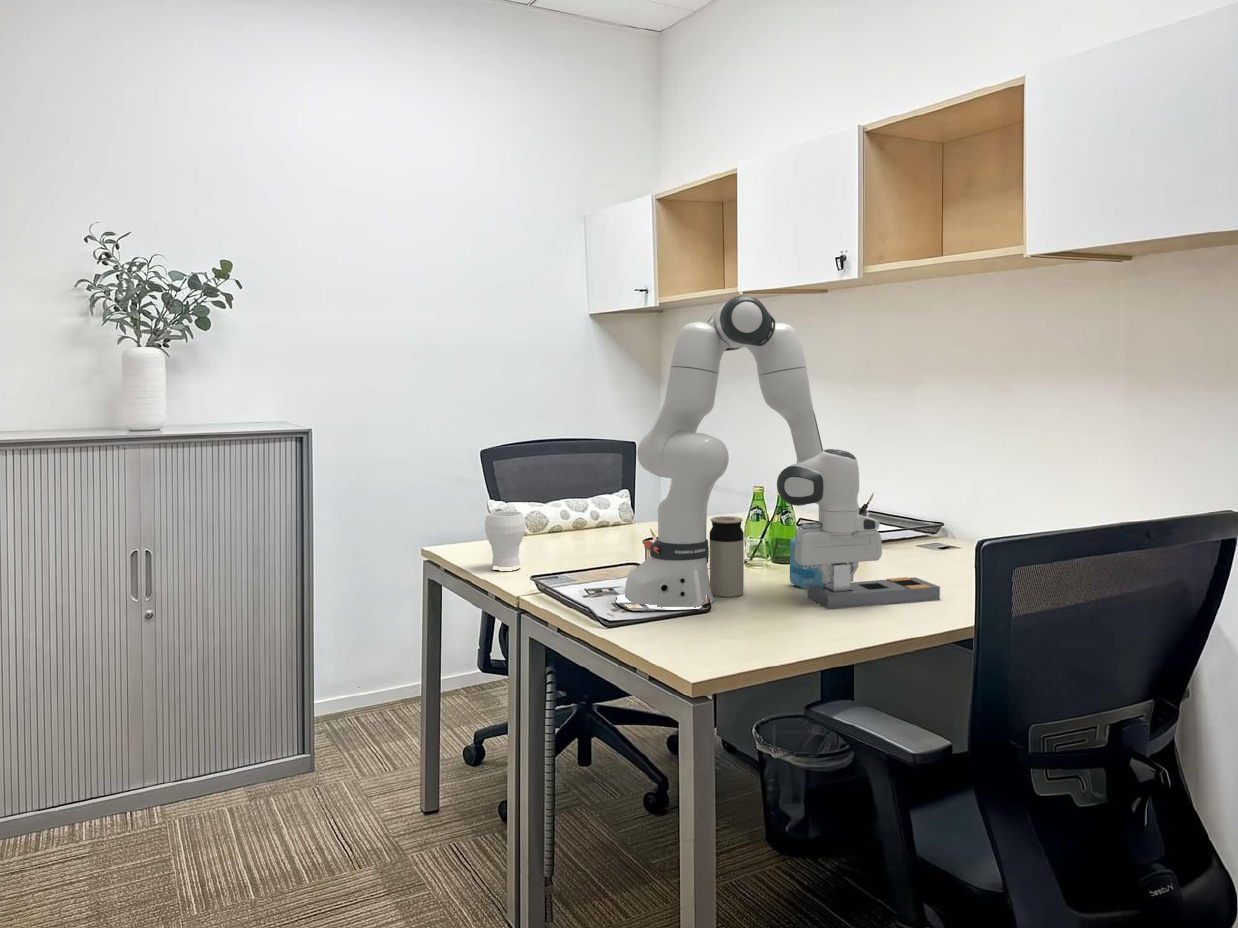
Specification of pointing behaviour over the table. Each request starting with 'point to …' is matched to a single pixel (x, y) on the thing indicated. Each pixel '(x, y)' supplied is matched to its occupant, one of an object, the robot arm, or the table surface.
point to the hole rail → (875, 593)
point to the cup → (505, 536)
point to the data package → (803, 571)
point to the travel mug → (726, 557)
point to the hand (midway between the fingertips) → (837, 582)
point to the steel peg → (839, 577)
